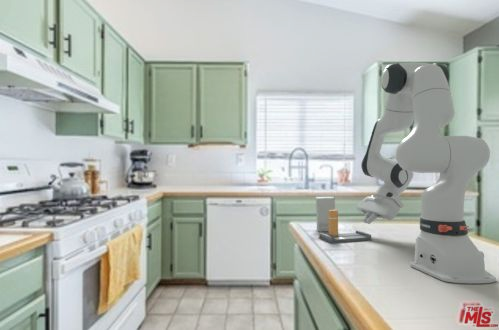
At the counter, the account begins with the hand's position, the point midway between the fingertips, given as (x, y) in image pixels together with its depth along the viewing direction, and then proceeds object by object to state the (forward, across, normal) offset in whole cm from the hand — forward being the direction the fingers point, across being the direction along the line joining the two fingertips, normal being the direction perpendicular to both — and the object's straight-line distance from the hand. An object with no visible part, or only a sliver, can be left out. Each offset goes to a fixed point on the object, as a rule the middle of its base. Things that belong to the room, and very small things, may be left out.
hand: (365, 222), depth 146 cm
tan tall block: (+14, -1, -7) cm, 16 cm away
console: (+11, -1, -2) cm, 11 cm away
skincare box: (+10, -20, 0) cm, 23 cm away
